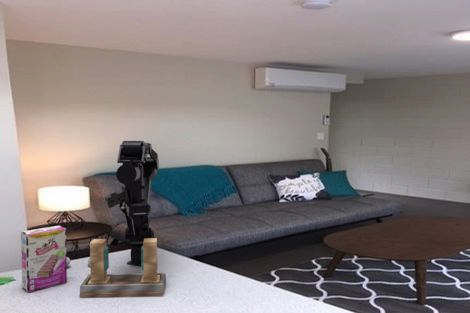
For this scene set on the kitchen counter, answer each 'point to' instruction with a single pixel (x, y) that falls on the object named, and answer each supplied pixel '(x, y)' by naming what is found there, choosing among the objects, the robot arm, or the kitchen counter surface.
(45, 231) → the candy bar box
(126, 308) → the kitchen counter surface
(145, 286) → the weathered wooden tray
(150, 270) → the oak finger
